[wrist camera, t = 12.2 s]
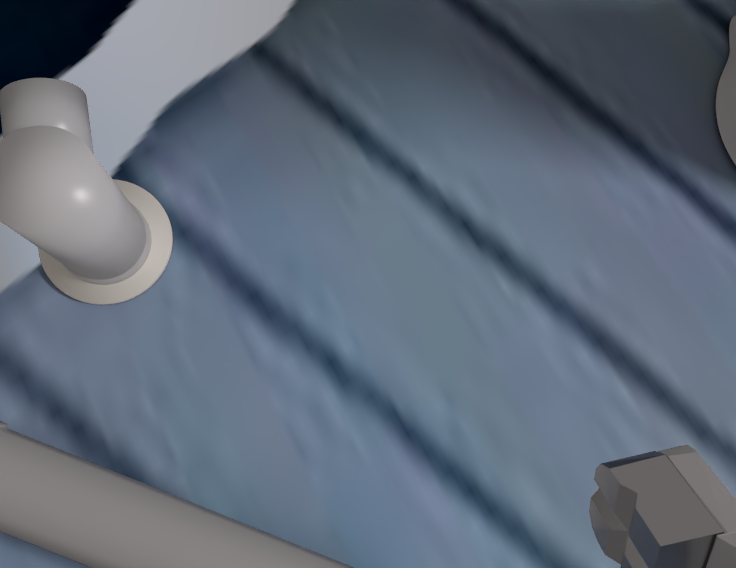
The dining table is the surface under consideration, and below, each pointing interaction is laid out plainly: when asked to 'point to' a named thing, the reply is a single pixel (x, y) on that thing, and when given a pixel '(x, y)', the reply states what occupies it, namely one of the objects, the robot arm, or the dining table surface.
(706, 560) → the robot arm
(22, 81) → the elbow
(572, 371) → the dining table surface
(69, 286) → the flange
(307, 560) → the tube
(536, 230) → the dining table surface
